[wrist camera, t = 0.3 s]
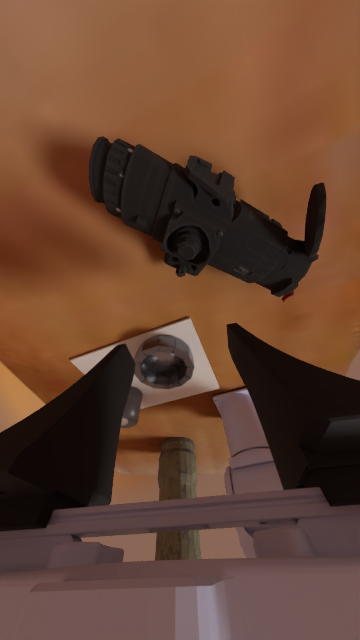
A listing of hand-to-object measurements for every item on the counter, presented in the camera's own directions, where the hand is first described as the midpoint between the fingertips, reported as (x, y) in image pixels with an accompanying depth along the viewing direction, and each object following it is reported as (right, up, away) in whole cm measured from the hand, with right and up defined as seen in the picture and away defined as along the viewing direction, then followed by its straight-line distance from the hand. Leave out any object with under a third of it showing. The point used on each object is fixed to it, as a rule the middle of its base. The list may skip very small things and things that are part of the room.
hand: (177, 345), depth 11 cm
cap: (-9, -12, +18) cm, 23 cm away
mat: (-5, -8, +16) cm, 18 cm away
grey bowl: (-2, -4, +13) cm, 14 cm away
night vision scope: (+3, +11, +5) cm, 13 cm away
